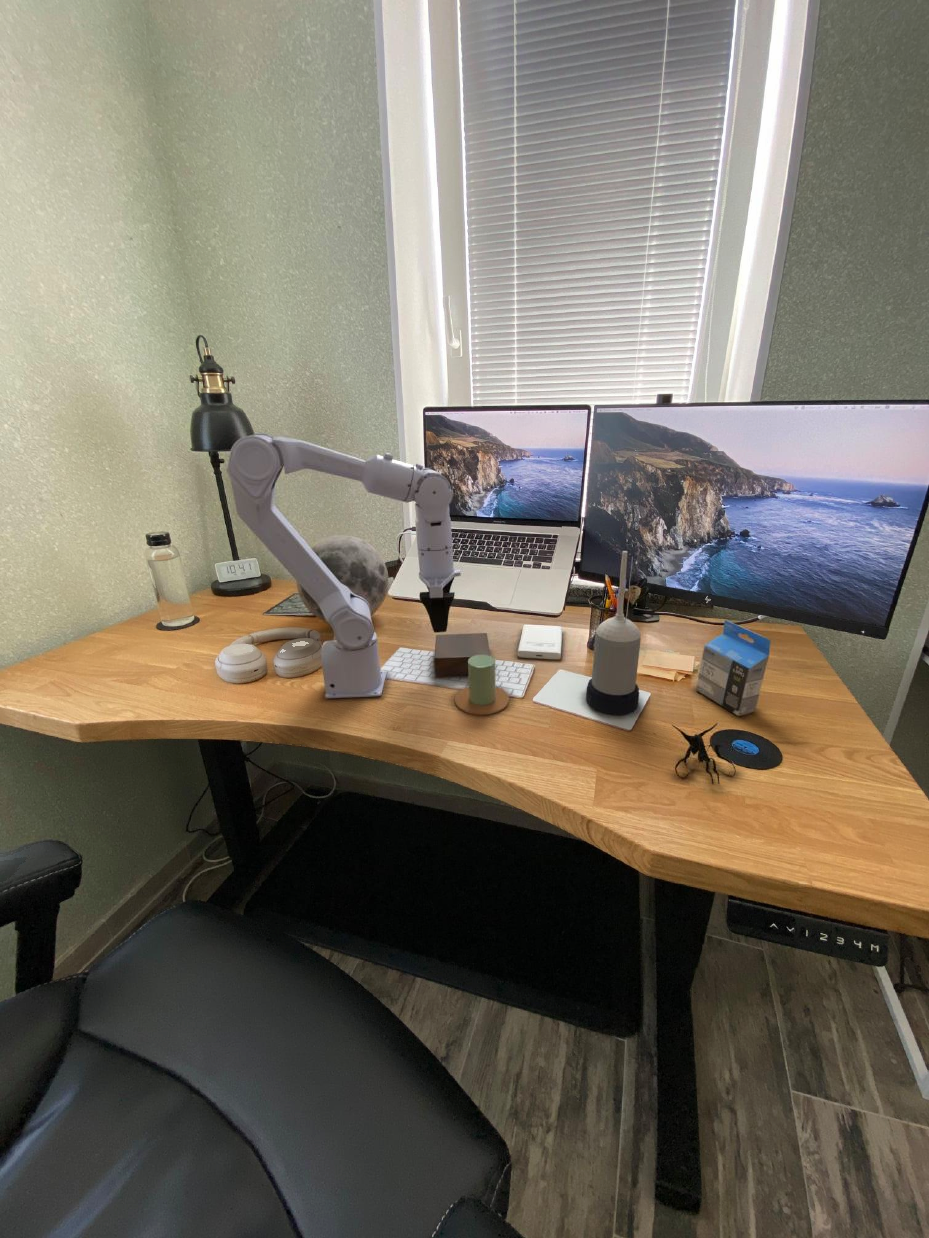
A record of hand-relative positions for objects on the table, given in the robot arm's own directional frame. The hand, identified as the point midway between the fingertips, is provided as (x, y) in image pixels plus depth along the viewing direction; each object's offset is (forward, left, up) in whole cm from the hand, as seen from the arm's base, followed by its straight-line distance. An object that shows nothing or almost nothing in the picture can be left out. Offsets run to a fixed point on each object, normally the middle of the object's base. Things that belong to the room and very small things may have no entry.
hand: (440, 622), depth 88 cm
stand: (+4, +4, -10) cm, 12 cm away
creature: (+34, -28, -11) cm, 46 cm away
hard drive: (+20, +11, -11) cm, 25 cm away
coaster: (+7, -9, -10) cm, 15 cm away
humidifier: (+28, -11, -11) cm, 31 cm away
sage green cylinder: (+7, -9, -10) cm, 15 cm away
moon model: (-22, +27, -11) cm, 37 cm away
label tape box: (+46, -12, -11) cm, 48 cm away
